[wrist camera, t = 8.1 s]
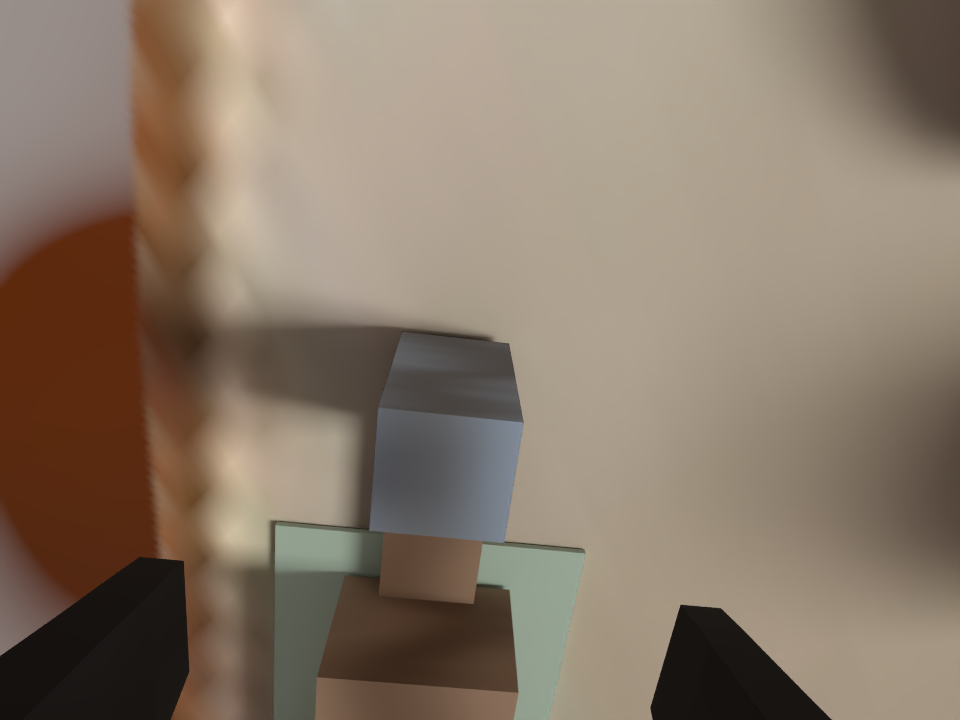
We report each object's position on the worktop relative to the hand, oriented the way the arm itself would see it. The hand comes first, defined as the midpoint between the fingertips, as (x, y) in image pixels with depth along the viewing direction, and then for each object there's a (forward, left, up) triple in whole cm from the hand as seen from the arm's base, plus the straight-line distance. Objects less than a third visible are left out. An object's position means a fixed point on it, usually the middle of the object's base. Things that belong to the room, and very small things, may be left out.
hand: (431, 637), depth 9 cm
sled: (0, +7, -10) cm, 12 cm away
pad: (0, +10, -10) cm, 14 cm away
